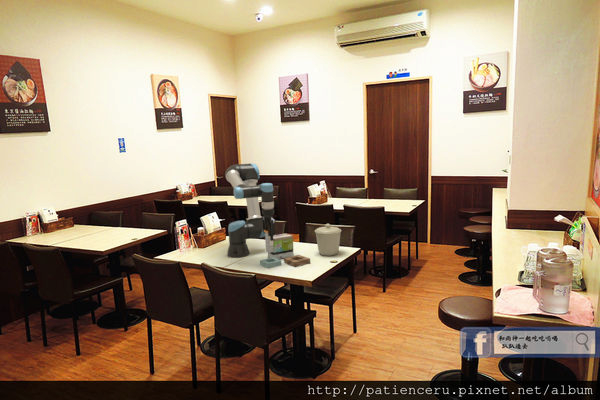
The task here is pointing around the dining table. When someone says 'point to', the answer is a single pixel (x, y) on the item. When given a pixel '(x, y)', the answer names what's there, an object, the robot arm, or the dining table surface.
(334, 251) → the canister
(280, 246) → the tea box
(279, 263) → the mount
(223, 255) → the dining table surface
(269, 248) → the lock pin
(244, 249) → the robot arm
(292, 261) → the tray
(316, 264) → the dining table surface
